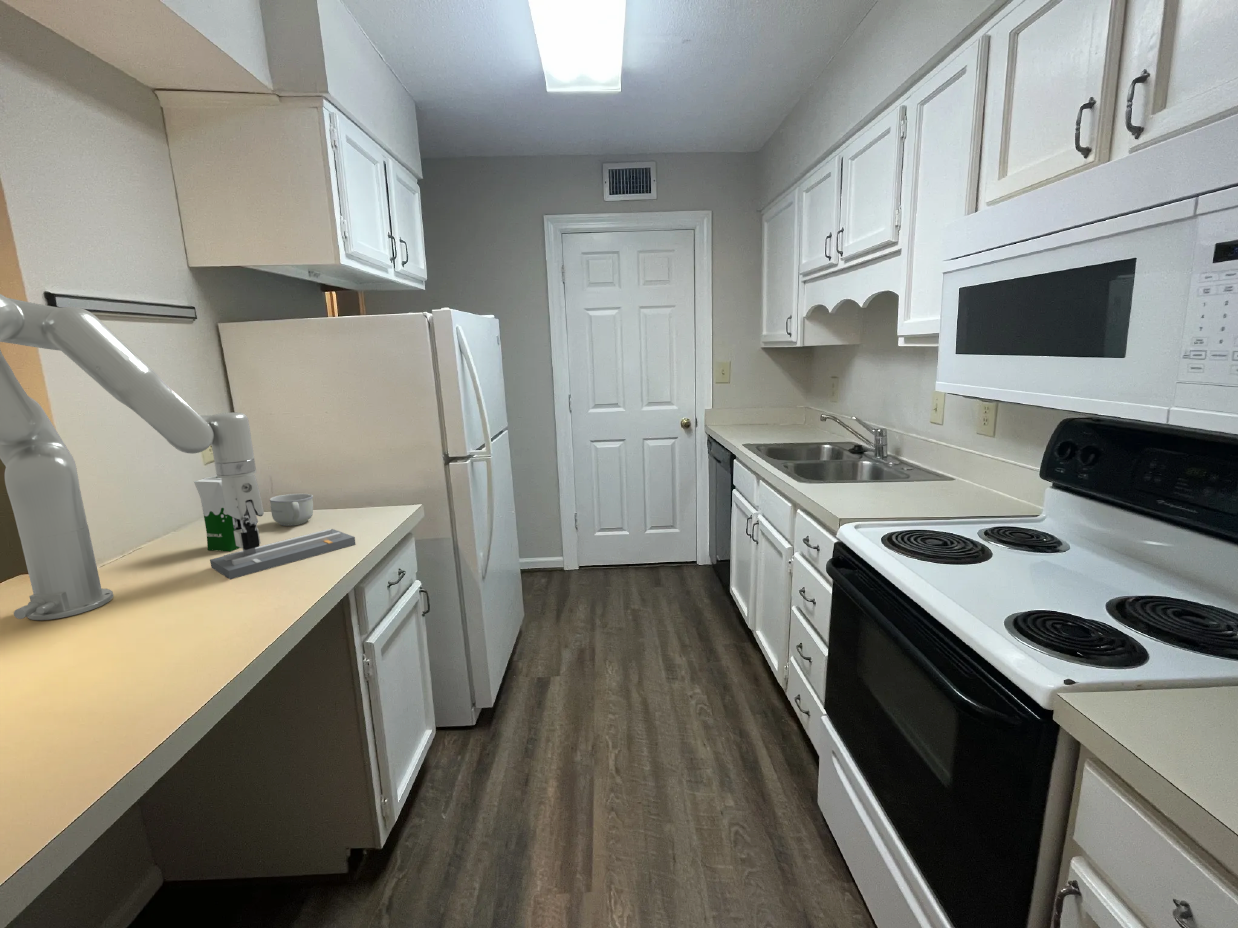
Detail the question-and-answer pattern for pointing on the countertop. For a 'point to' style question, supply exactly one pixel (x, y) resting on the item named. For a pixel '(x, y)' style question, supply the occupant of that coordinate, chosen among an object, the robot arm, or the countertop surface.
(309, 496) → the teacup
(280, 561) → the fader panel
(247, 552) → the fader
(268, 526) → the countertop surface
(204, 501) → the milk carton
